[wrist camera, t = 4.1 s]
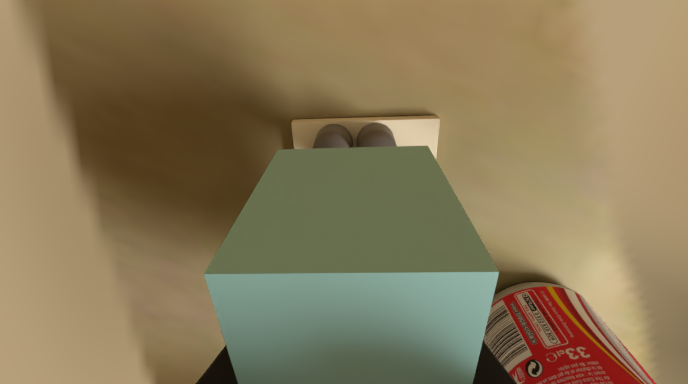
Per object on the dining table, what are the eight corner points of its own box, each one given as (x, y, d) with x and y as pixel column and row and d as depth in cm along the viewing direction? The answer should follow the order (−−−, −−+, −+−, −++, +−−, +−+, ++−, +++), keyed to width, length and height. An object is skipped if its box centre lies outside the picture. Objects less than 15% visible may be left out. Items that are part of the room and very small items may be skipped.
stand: (424, 248, 19) (435, 284, 17) (307, 250, 20) (300, 285, 17) (437, 115, 16) (453, 134, 13) (293, 119, 16) (280, 139, 13)
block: (277, 149, 10) (203, 273, 5) (427, 145, 10) (499, 272, 5) (307, 357, 15) (283, 527, 10) (409, 358, 15) (437, 532, 10)
